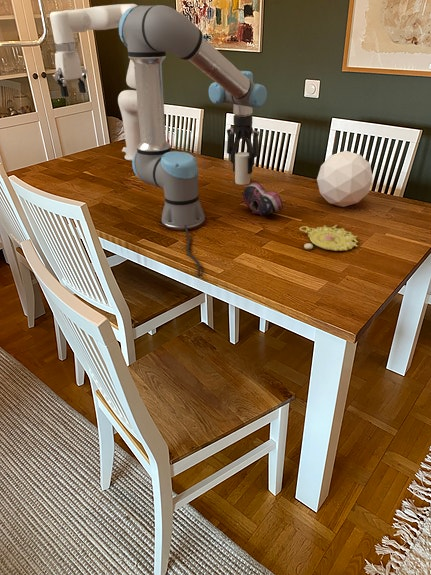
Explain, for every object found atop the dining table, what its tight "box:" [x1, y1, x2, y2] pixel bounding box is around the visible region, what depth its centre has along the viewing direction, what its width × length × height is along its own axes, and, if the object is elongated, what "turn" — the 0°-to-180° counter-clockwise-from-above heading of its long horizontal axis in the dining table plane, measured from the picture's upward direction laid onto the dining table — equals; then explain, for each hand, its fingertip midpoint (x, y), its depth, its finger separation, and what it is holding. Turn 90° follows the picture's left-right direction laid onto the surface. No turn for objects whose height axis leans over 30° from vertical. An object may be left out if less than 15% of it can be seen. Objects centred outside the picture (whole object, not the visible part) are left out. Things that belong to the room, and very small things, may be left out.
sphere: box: [316, 150, 374, 208], centre depth 161 cm, size 19×20×20 cm
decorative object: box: [299, 224, 359, 252], centre depth 141 cm, size 21×2×20 cm
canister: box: [234, 151, 251, 186], centre depth 186 cm, size 6×6×12 cm
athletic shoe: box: [238, 182, 284, 217], centre depth 160 cm, size 11×22×12 cm
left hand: (74, 94), depth 184 cm, fingers open, 9 cm apart
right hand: (242, 171), depth 187 cm, fingers closed on canister, 6 cm apart
